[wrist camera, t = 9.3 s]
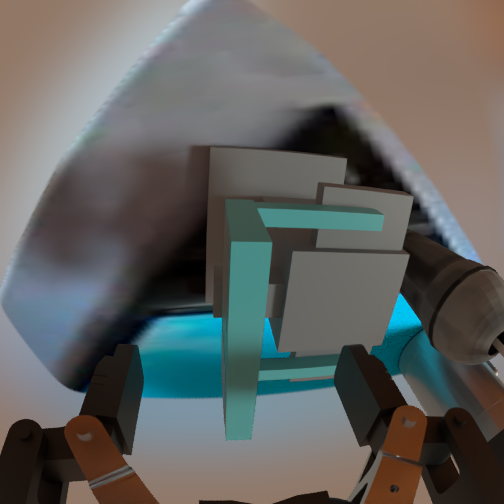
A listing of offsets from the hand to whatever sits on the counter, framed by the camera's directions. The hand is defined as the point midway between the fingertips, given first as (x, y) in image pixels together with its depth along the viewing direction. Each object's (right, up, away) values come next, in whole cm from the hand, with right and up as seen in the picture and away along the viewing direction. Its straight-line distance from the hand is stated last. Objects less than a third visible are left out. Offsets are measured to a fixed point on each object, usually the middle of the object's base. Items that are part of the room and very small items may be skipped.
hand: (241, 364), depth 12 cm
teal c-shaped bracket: (+2, +2, +4) cm, 6 cm away
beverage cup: (+14, +5, +18) cm, 23 cm away
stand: (+2, +6, +15) cm, 16 cm away
